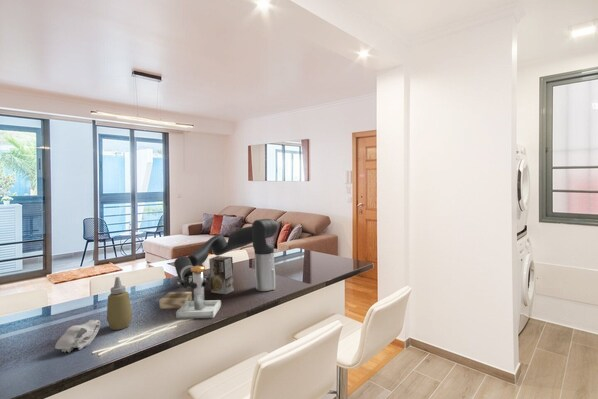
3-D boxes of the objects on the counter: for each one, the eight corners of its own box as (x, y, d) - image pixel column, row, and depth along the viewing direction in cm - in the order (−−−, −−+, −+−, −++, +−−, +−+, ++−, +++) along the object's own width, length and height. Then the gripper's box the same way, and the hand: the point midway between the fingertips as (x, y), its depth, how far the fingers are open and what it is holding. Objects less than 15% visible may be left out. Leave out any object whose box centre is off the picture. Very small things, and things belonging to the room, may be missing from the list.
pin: (207, 305, 133) (206, 265, 132) (204, 310, 128) (202, 268, 127) (195, 305, 133) (193, 265, 132) (190, 310, 128) (188, 269, 127)
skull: (47, 345, 100) (76, 308, 108) (71, 357, 106) (97, 321, 113) (58, 349, 96) (88, 311, 104) (83, 362, 101) (110, 325, 109)
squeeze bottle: (137, 323, 121) (135, 275, 120) (119, 333, 113) (116, 281, 112) (120, 321, 124) (118, 273, 123) (101, 330, 116) (98, 279, 115)
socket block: (192, 299, 145) (191, 291, 145) (184, 307, 135) (183, 299, 135) (169, 300, 145) (169, 292, 145) (159, 308, 135) (159, 300, 135)
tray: (221, 306, 136) (220, 300, 136) (213, 317, 124) (213, 311, 124) (187, 306, 136) (187, 301, 136) (176, 318, 124) (176, 312, 124)
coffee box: (234, 290, 156) (233, 256, 155) (226, 294, 150) (224, 259, 150) (218, 288, 160) (217, 255, 159) (210, 292, 154) (208, 258, 153)
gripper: (207, 281, 146) (218, 291, 131) (173, 287, 139) (181, 298, 124) (207, 264, 145) (218, 273, 131) (173, 269, 138) (180, 279, 124)
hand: (200, 285), depth 127 cm, fingers closed on pin, 4 cm apart
